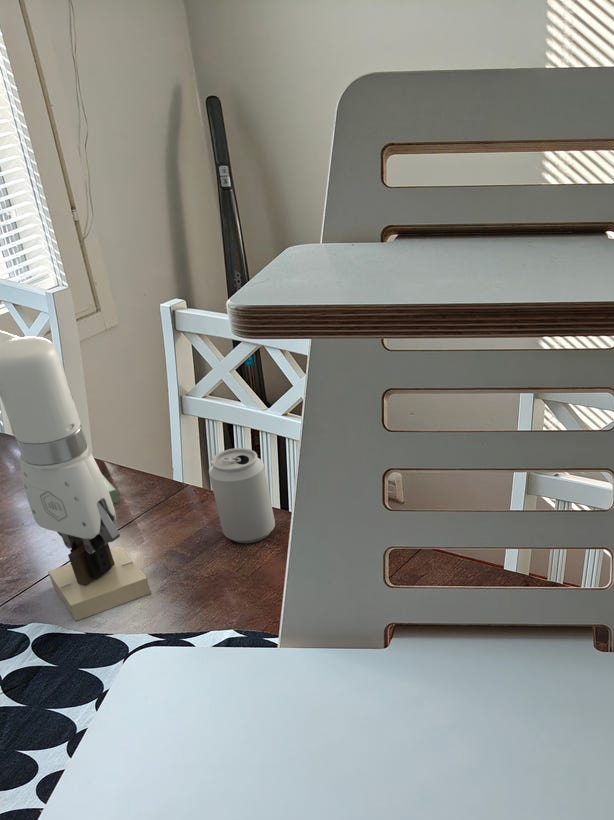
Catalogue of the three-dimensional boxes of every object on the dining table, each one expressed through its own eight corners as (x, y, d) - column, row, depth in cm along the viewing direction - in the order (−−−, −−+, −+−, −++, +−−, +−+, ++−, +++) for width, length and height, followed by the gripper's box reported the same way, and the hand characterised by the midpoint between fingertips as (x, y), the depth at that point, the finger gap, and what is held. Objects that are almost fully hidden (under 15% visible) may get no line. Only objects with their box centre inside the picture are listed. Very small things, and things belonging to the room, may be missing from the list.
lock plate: (76, 621, 125) (70, 604, 123) (53, 586, 132) (47, 570, 130) (151, 593, 129) (146, 576, 128) (125, 561, 136) (120, 544, 134)
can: (281, 538, 139) (266, 462, 132) (228, 551, 137) (210, 474, 130) (270, 514, 145) (255, 440, 137) (219, 525, 143) (202, 451, 135)
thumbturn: (85, 586, 127) (75, 555, 124) (77, 583, 127) (66, 553, 124) (115, 564, 131) (105, 534, 128) (107, 562, 131) (97, 532, 128)
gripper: (-19, 447, 118) (30, 574, 129) (79, 469, 112) (122, 600, 123) (28, 421, 123) (71, 546, 134) (124, 441, 117) (161, 569, 128)
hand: (95, 571), depth 129 cm, fingers closed
